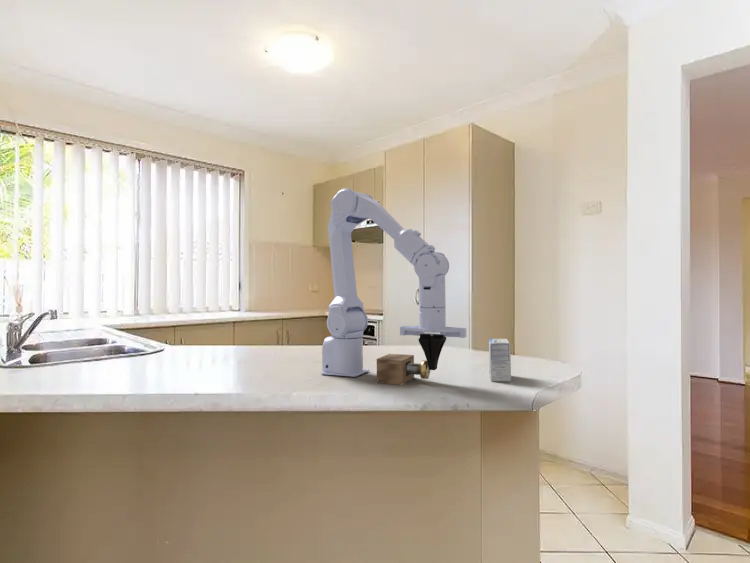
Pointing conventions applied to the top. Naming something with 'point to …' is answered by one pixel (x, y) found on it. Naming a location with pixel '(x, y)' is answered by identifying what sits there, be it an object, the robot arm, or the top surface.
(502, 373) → the medicine box
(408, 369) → the brass door knob
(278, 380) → the top surface
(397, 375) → the block
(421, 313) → the robot arm
